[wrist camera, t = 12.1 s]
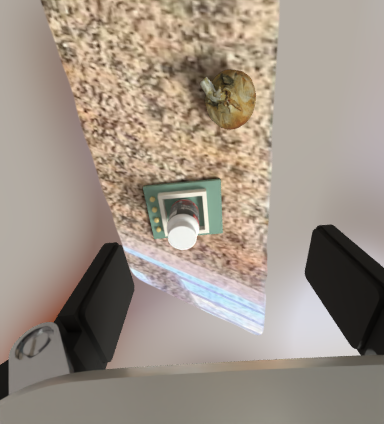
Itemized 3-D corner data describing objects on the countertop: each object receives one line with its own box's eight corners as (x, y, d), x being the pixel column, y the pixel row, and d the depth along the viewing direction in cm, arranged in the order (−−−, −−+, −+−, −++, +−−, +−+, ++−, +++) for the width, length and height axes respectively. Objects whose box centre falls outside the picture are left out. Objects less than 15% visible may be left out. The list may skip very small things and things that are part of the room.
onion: (209, 133, 36) (213, 139, 29) (197, 81, 33) (198, 74, 25) (252, 120, 35) (267, 124, 28) (245, 65, 32) (260, 53, 24)
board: (143, 185, 40) (140, 190, 38) (219, 178, 40) (221, 182, 37) (154, 236, 46) (152, 243, 44) (222, 230, 45) (223, 237, 43)
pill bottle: (204, 207, 42) (207, 235, 33) (188, 227, 44) (187, 258, 35) (180, 192, 40) (176, 217, 31) (165, 214, 42) (158, 242, 33)
